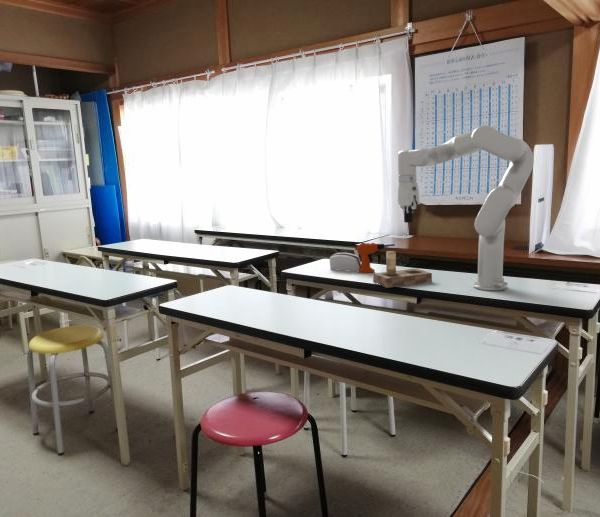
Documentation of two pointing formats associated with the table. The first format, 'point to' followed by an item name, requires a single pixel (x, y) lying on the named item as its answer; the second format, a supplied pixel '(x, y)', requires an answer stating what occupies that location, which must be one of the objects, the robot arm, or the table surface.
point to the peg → (391, 263)
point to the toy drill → (366, 258)
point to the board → (403, 278)
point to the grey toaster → (345, 262)
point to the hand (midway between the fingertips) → (408, 222)
